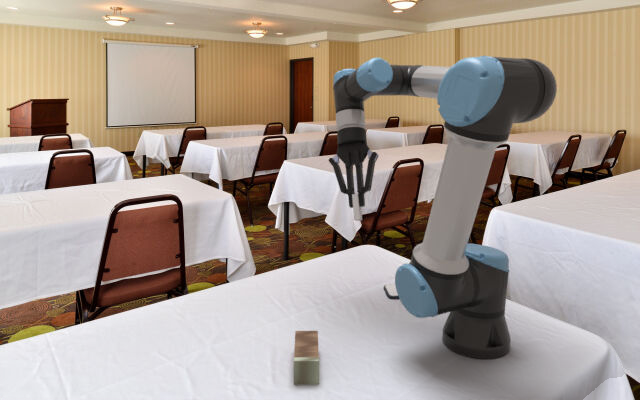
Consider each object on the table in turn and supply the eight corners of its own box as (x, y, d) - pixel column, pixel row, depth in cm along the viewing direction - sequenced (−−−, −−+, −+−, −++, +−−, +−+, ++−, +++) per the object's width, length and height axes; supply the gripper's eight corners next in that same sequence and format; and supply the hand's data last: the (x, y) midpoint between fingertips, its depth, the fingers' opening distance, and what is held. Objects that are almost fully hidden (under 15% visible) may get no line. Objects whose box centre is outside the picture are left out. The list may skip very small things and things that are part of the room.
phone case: (388, 301, 140) (444, 299, 141) (388, 296, 140) (444, 293, 141) (382, 289, 149) (435, 287, 150) (382, 284, 148) (435, 282, 150)
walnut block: (317, 330, 111) (319, 360, 98) (317, 351, 112) (319, 384, 99) (295, 330, 111) (293, 361, 98) (295, 351, 112) (293, 384, 99)
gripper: (378, 129, 130) (386, 218, 127) (331, 136, 134) (337, 223, 131) (372, 122, 123) (380, 216, 120) (322, 129, 127) (329, 221, 124)
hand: (358, 220), depth 125 cm, fingers closed
